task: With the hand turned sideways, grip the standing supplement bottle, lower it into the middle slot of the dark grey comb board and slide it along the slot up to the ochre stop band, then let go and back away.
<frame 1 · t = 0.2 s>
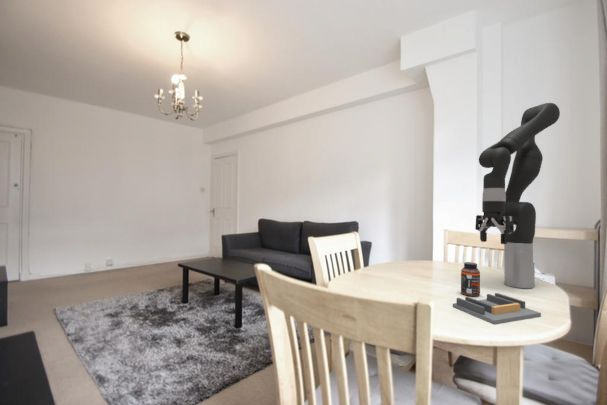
hand: (493, 242, 111), 18 cm above the table, tool pointing down, fingers open, 8 cm apart
supplement bottle: (470, 295, 104), on the table
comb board: (494, 311, 88), on the table
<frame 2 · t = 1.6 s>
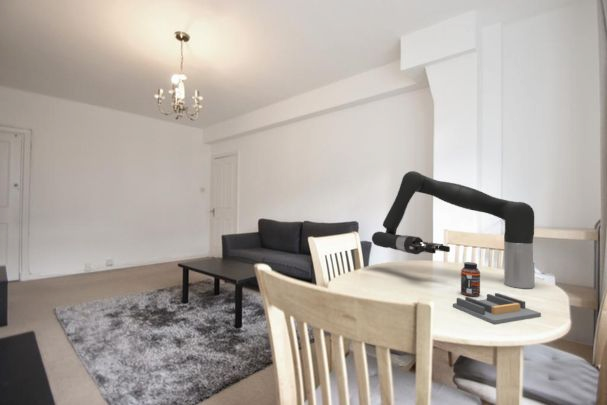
hand: (442, 250, 114), 14 cm above the table, tool horizontal, fingers open, 8 cm apart
nothing on the table moved.
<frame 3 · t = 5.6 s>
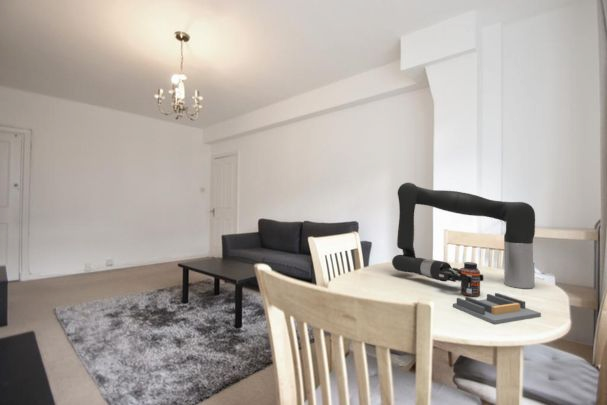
hand: (477, 279, 102), 6 cm above the table, tool horizontal, fingers closed on supplement bottle, 6 cm apart
supplement bottle: (470, 295, 104), on the table, touching gripper
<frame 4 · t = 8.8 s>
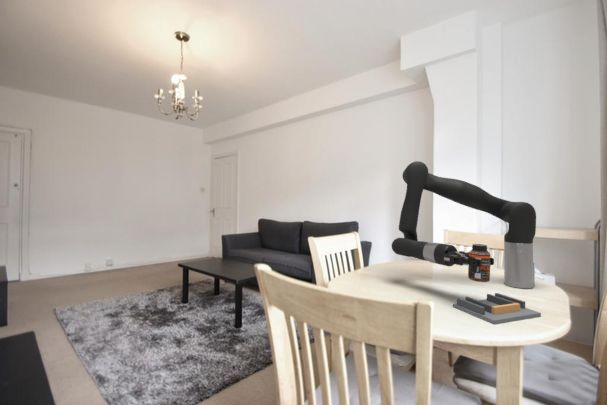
hand: (487, 262, 90), 14 cm above the table, tool horizontal, fingers closed on supplement bottle, 6 cm apart
supplement bottle: (478, 280, 93), point 8 cm above the table, touching gripper
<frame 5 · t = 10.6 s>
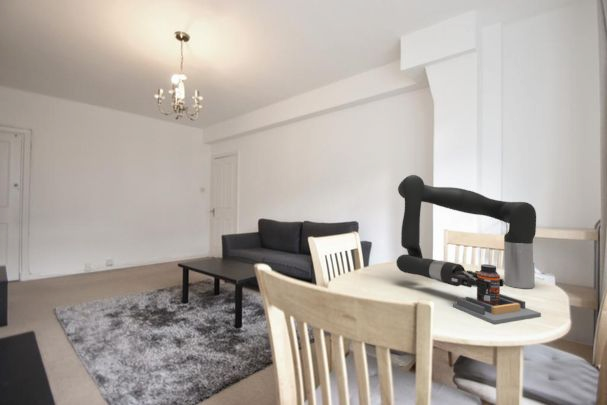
hand: (496, 284, 88), 8 cm above the table, tool horizontal, fingers closed on supplement bottle, 6 cm apart
supplement bottle: (488, 302, 90), point 2 cm above the table, touching gripper
when the fingers open (8 cm above the table, at t = 12.1 s): supplement bottle drops 1 cm, resting on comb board.
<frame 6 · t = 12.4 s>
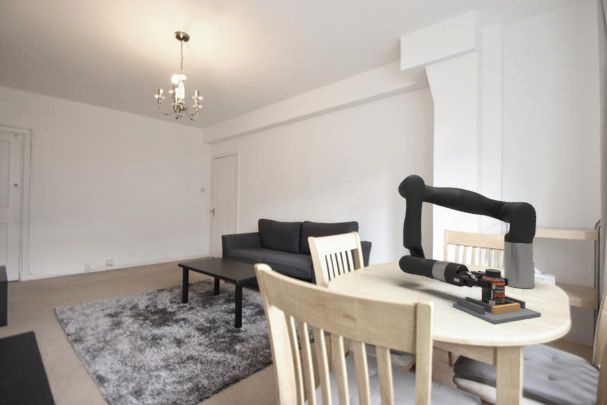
hand: (500, 284, 86), 8 cm above the table, tool horizontal, fingers open, 8 cm apart
supplement bottle: (493, 307, 88), point 1 cm above the table, touching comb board
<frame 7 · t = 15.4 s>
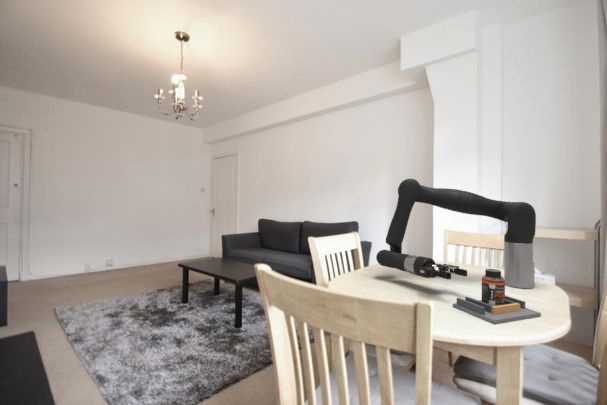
hand: (458, 274, 98), 9 cm above the table, tool horizontal, fingers open, 8 cm apart
nothing on the table moved.
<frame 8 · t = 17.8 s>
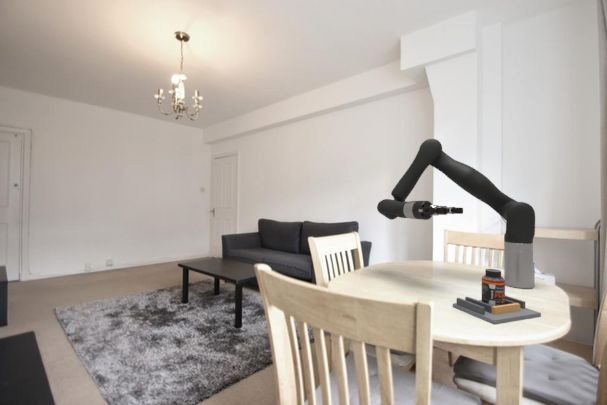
hand: (455, 210, 104), 30 cm above the table, tool horizontal, fingers open, 8 cm apart
nothing on the table moved.
at the end: supplement bottle 0.5 cm off-centre on the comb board, point 0.8 cm above the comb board's base; supplement bottle tilted 0°; the gripper is holding nothing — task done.
